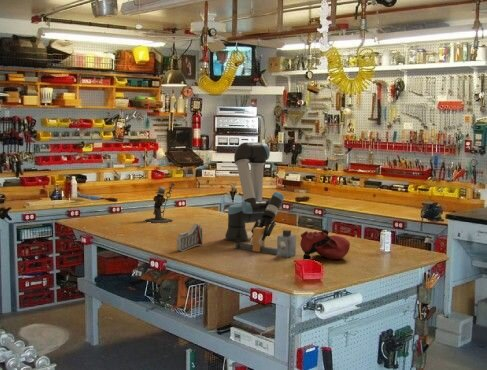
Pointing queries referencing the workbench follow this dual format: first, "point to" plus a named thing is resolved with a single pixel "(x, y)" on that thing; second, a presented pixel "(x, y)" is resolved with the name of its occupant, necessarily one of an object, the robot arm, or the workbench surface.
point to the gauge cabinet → (286, 246)
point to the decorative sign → (190, 238)
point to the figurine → (159, 202)
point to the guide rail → (250, 247)
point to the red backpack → (324, 245)
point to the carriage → (257, 238)
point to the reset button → (286, 232)
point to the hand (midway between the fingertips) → (255, 243)
